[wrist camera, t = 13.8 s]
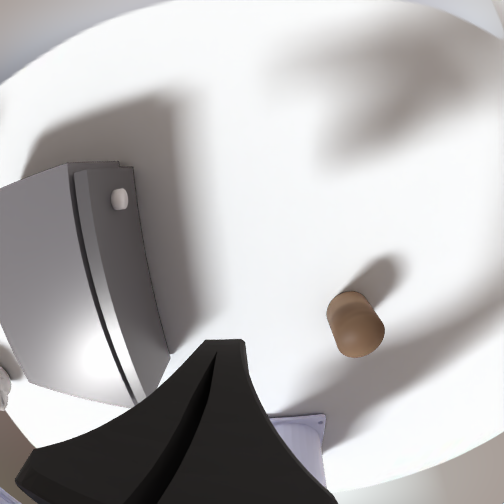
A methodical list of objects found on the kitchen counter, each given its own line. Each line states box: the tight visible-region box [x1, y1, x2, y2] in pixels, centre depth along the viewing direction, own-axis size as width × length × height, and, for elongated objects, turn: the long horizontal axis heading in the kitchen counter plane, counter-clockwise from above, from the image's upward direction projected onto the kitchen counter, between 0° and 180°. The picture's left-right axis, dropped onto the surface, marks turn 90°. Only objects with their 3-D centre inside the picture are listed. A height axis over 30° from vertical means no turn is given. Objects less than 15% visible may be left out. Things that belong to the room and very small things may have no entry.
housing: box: [0, 161, 138, 408], centre depth 17 cm, size 16×12×6 cm
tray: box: [74, 167, 170, 403], centre depth 17 cm, size 15×12×5 cm
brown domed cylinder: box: [327, 291, 385, 358], centre depth 18 cm, size 3×3×4 cm
